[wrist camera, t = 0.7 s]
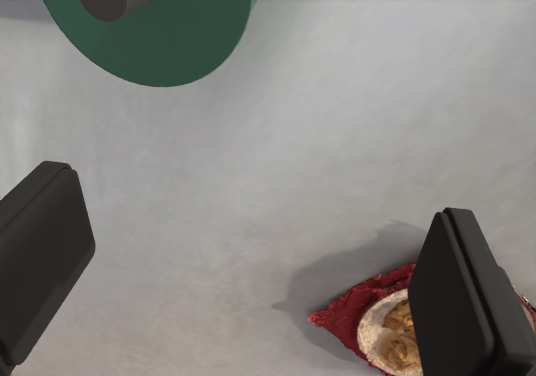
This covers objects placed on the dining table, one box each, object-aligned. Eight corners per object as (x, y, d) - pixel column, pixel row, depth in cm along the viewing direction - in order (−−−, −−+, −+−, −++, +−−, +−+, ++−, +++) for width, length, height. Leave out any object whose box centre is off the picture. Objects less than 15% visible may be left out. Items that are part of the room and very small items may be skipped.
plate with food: (461, 226, 46) (469, 247, 43) (571, 343, 54) (584, 367, 51) (305, 309, 58) (304, 329, 55) (415, 395, 66) (418, 417, 63)
